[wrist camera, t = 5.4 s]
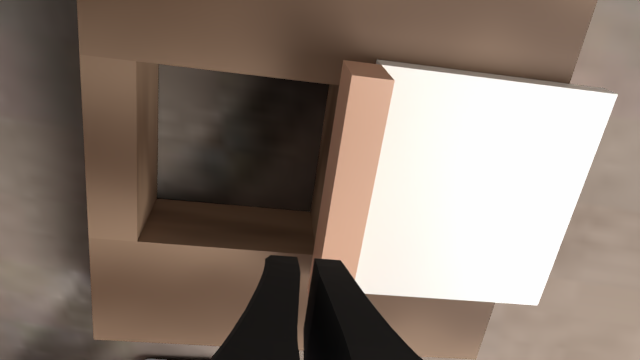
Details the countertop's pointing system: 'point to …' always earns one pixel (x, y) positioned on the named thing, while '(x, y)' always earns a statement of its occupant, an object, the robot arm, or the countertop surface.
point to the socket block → (301, 226)
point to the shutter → (454, 179)
